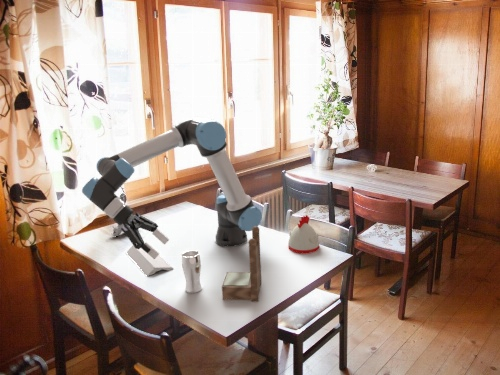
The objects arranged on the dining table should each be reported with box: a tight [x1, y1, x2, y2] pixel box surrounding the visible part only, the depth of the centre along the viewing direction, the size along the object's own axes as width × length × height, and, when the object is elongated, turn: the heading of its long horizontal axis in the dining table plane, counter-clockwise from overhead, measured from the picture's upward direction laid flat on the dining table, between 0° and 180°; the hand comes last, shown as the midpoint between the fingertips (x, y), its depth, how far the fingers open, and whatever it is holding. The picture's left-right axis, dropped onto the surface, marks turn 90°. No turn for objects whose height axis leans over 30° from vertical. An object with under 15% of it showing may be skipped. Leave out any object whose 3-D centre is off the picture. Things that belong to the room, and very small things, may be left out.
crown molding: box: [126, 244, 174, 277], centre depth 208 cm, size 29×12×4 cm, turn 31°
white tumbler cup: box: [181, 249, 202, 294], centre depth 180 cm, size 7×7×15 cm
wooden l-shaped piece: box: [221, 226, 262, 303], centre depth 175 cm, size 13×15×24 cm
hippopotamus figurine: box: [110, 224, 124, 237], centre depth 239 cm, size 7×12×8 cm, turn 125°
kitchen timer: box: [287, 214, 320, 255], centre depth 214 cm, size 14×14×15 cm
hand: (162, 249), depth 178 cm, fingers open, 13 cm apart
